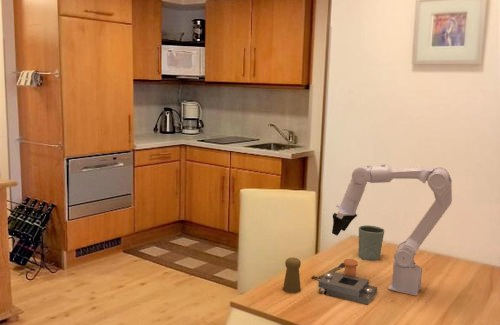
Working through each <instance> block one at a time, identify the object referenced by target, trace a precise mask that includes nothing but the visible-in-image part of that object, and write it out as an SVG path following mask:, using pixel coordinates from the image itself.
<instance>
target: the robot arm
mask: <svg viewBox="0 0 500 325" xmlns="http://www.w3.org/2000/svg"><path fill="white" fill-rule="evenodd" d="M394 179H396V180H398V179H399V180H401V179H403V180H406V179H408V180H410V179H411V180H412V179H416V180H418V181H420V182H422V183H423V184H426V182H427V184H428V187H429V188H430V189H431V191H432V192H433V195H434V199H435V200H434V202H433V203H432V204H431V206H430V207H429V208H428V210H427V211H426V213H425V214H424V216H423V217H422V218H421V220H420V221H419V222H418V223H417V225H416V227H415V228H414V229H413V230H412V232H411V234H410V235H409V236H408V237H407V238H406V240H404V241H402V242H400V243H399V244H398V246H397V249H396V251H395V252H394V254H393V259H394V260H393V267H392V280H391V284H390V285H389V286H388V290H389V291H394V292H398V293H402V294H407V295H412V296H417V295H418V294H419V292H420V290H421V289H422V276H423V268H422V267H421V266H419V265H417V264H416V262H415V256H416V255H417V252H418V250H419V249H420V247H421V246H422V244H423V243H424V241H425V240H426V239H427V237H428V236H429V234H430V233H431V232H432V230H433V229H434V228H435V226H436V225H437V223H438V222H439V221H440V220H441V218H442V217H443V215H445V213H446V212H447V210H448V209H449V207H450V206H451V205H452V201H453V191H452V190H453V189H452V187H453V186H452V185H453V184H452V182H453V181H452V178H451V175H450V173H449V171H448V170H447V169H446V168H443V167H433V166H421V167H420V166H419V167H417V166H416V167H406V168H404V167H403V168H392V167H391V165H386V163H382V164H380V165H373V166H372V165H371V164H368V165H361V166H357V168H355V169H354V170H353V172H352V174H351V179H350V180H349V182H350V183H348V186H347V188H346V191H345V193H344V196H343V197H342V200H341V204H337V205H336V208H338V211H337V212H334V213H332V220H333V221H332V223H333V224H332V230H331V233H332V235H334V236H338V235H339V234H340V233H341V231H343V232H346V230H347V229H348V227H349V225H350V224H351V222H352V221H353V220H354V219H356V218H357V217H358V214H357V210H358V207H359V205H360V202H361V200H362V197H363V194H364V192H365V190H366V185H367V184H368V183H370V184H375V183H376V184H379V183H383V184H385V183H391V181H392V180H394Z"/></svg>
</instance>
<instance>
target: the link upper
mask: <svg viewBox="0 0 500 325" xmlns="http://www.w3.org/2000/svg"><path fill="white" fill-rule="evenodd" d="M329 271H330V270H329ZM325 273H326V272H325ZM319 280H320V281H317V282H318V285H317V287H318V288H319V289H318V292H319V293H320V294H324V293H325V292H327V289H329V290H333V291H337V292H341V293H345V294H349V295H354V296H358V297H359V296H360V295H361V294H362V293H363V291H364V290H365V288H367V287H368V286H369V285H370V279H368V278H365V277H360V276H359V277H358V276H356V277H355V276H350V275H346V274H344V273H341V272H337V271H335V272H332V271H330V272H329V273H326V274H325V276H324V277H323V278H322V279H319ZM342 283H347V284H351V285H354V286H351V285H347V284H342Z"/></svg>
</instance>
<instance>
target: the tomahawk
mask: <svg viewBox="0 0 500 325" xmlns="http://www.w3.org/2000/svg"><path fill="white" fill-rule="evenodd" d="M343 268H345V265H344V262H342V263H340V264H339V265H338V266H336V267H333V268H332V269H330V270H328V271H326V272H325V273H323V274H321V275H319V276H318V277H317V276H314V275H313V276H311V280H315V281H317V282H319V281H320V280H321V279H322V278H323V277H324V276H325V274H326V273H329V272H330V271H332V272H337V271H339V270H341V269H343Z"/></svg>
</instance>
